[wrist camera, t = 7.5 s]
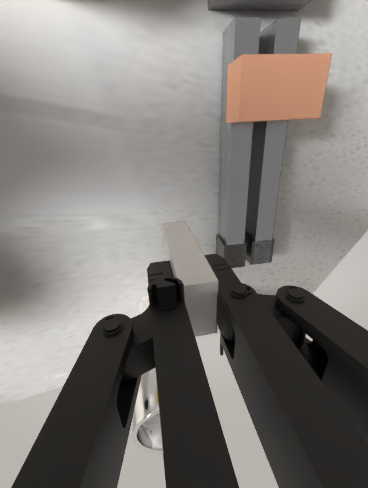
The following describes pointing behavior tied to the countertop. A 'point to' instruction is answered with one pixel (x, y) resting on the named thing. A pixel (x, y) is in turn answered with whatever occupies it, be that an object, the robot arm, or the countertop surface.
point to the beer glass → (147, 408)
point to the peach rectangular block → (276, 87)
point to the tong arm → (235, 149)
